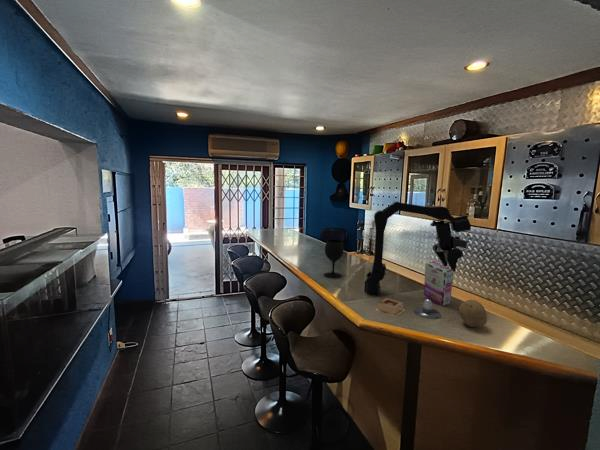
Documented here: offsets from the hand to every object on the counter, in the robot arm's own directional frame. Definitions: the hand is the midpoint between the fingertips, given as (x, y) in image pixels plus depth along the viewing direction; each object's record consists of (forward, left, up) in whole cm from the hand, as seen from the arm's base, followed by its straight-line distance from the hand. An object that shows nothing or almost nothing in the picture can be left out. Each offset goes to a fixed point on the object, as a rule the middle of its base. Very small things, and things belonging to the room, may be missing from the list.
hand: (449, 268), depth 130 cm
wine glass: (-59, -5, -16) cm, 61 cm away
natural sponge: (+13, -18, -16) cm, 28 cm away
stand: (-14, -29, -15) cm, 35 cm away
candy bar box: (-4, -2, -15) cm, 15 cm away
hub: (-2, -21, -15) cm, 26 cm away
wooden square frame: (-14, -29, -14) cm, 35 cm away
